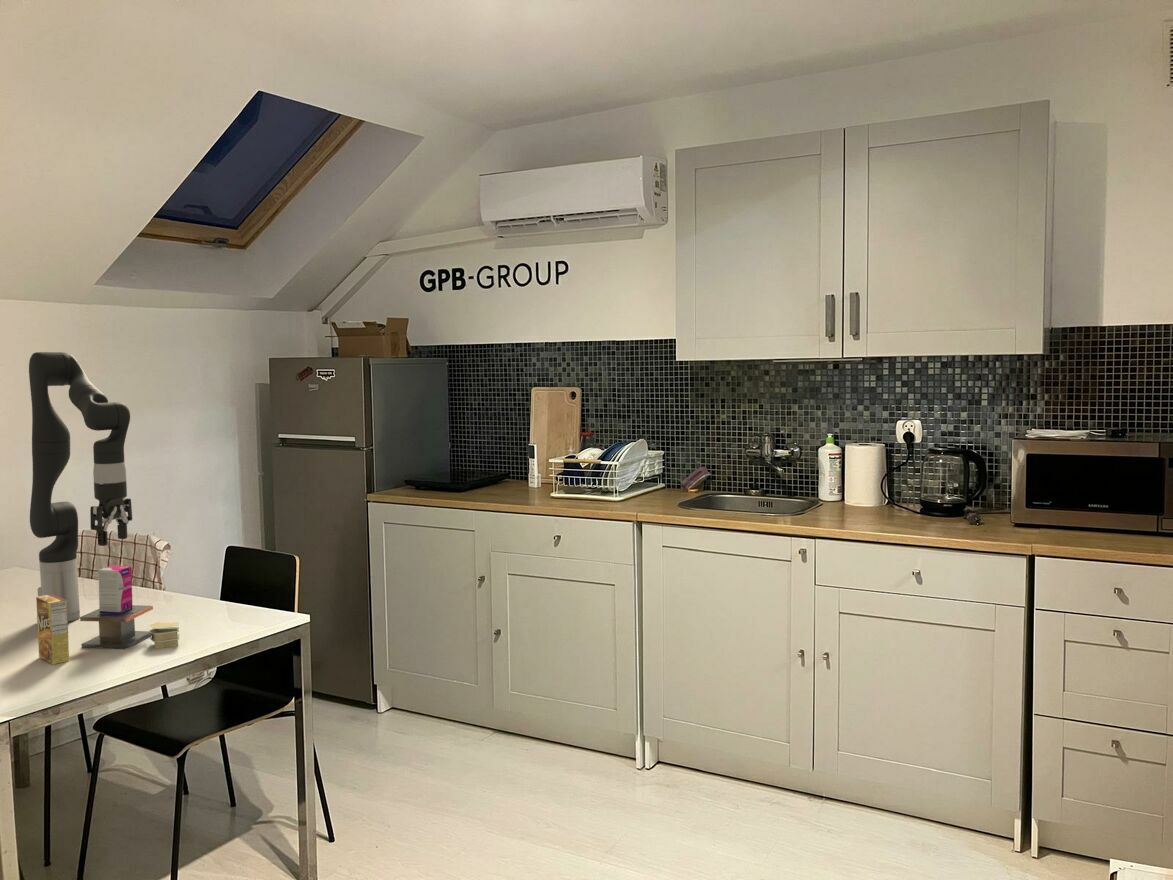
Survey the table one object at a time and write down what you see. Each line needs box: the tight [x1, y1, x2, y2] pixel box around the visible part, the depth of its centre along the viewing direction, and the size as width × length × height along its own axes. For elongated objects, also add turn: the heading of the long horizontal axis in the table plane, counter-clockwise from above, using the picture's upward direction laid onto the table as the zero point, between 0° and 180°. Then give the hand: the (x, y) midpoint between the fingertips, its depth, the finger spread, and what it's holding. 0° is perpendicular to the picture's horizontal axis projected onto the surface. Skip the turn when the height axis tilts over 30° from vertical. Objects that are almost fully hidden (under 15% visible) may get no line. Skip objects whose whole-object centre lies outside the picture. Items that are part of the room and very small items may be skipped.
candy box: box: [35, 594, 70, 666], centre depth 231 cm, size 9×4×15 cm, turn 50°
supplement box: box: [97, 564, 133, 614], centre depth 245 cm, size 6×6×12 cm
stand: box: [79, 604, 154, 650], centre depth 246 cm, size 12×12×8 cm
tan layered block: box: [149, 621, 180, 649], centre depth 243 cm, size 10×9×6 cm
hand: (112, 542), depth 245 cm, fingers open, 8 cm apart
